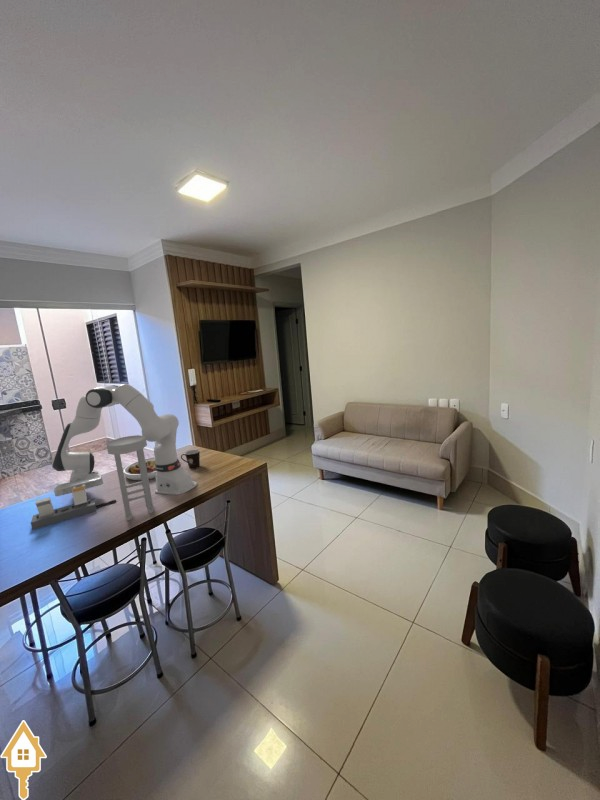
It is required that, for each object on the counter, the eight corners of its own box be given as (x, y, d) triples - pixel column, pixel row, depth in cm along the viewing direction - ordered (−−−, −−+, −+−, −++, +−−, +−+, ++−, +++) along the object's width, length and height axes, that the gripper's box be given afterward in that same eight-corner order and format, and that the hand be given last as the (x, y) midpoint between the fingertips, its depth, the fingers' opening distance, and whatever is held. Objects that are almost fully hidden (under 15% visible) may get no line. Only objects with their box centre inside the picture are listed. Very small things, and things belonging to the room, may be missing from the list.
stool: (159, 512, 145) (147, 439, 139) (121, 524, 137) (106, 448, 131) (154, 499, 158) (143, 433, 152) (119, 510, 150) (106, 440, 144)
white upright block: (87, 501, 153) (84, 485, 154) (87, 501, 151) (84, 485, 152) (75, 505, 150) (72, 488, 151) (74, 505, 148) (71, 488, 149)
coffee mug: (204, 465, 200) (202, 450, 198) (193, 470, 193) (191, 455, 191) (192, 463, 206) (190, 448, 204) (181, 467, 199) (179, 452, 197)
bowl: (129, 468, 206) (127, 457, 204) (178, 459, 215) (176, 449, 214) (120, 486, 178) (117, 473, 176) (176, 476, 187) (174, 463, 186)
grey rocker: (53, 509, 146) (49, 497, 142) (53, 513, 144) (49, 500, 141) (40, 513, 143) (35, 500, 139) (40, 516, 141) (35, 503, 138)
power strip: (115, 498, 162) (113, 490, 162) (116, 504, 156) (115, 496, 155) (34, 522, 145) (32, 512, 144) (32, 530, 138) (30, 520, 137)
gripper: (53, 482, 158) (51, 491, 147) (101, 470, 169) (102, 478, 158) (56, 493, 159) (54, 503, 148) (103, 481, 170) (104, 490, 159)
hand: (79, 490), depth 153 cm, fingers closed
